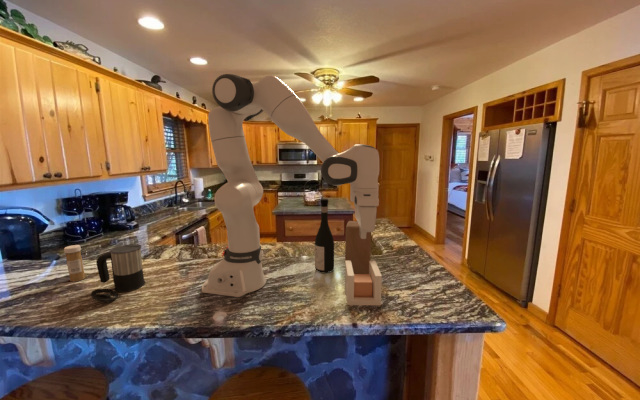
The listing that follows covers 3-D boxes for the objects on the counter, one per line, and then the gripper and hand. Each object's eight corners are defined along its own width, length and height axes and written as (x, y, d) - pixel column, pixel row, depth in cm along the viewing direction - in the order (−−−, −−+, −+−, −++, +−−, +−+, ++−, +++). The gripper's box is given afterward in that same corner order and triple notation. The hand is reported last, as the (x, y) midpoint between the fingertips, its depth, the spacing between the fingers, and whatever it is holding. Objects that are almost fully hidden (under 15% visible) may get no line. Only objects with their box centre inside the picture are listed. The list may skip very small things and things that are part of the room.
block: (353, 299, 86) (354, 282, 85) (352, 289, 92) (352, 273, 91) (371, 299, 86) (372, 282, 85) (369, 290, 92) (369, 274, 91)
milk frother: (147, 278, 102) (142, 242, 99) (142, 297, 88) (137, 255, 86) (100, 287, 95) (94, 248, 93) (88, 309, 82) (80, 264, 79)
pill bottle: (87, 276, 104) (82, 243, 102) (82, 281, 100) (76, 247, 98) (73, 277, 102) (67, 245, 100) (67, 283, 98) (61, 249, 96)
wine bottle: (319, 275, 104) (319, 201, 99) (312, 267, 111) (311, 198, 106) (337, 271, 107) (337, 200, 102) (329, 264, 114) (329, 197, 109)
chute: (347, 304, 83) (347, 275, 81) (345, 286, 95) (345, 260, 93) (380, 305, 83) (381, 276, 81) (374, 286, 95) (375, 260, 93)
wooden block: (369, 276, 103) (371, 227, 99) (344, 274, 105) (345, 226, 101) (370, 266, 112) (371, 221, 109) (347, 264, 114) (347, 220, 111)
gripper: (351, 191, 93) (350, 228, 96) (357, 201, 73) (356, 248, 76) (369, 191, 93) (367, 228, 96) (380, 201, 73) (378, 248, 75)
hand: (362, 237), depth 85 cm, fingers closed
